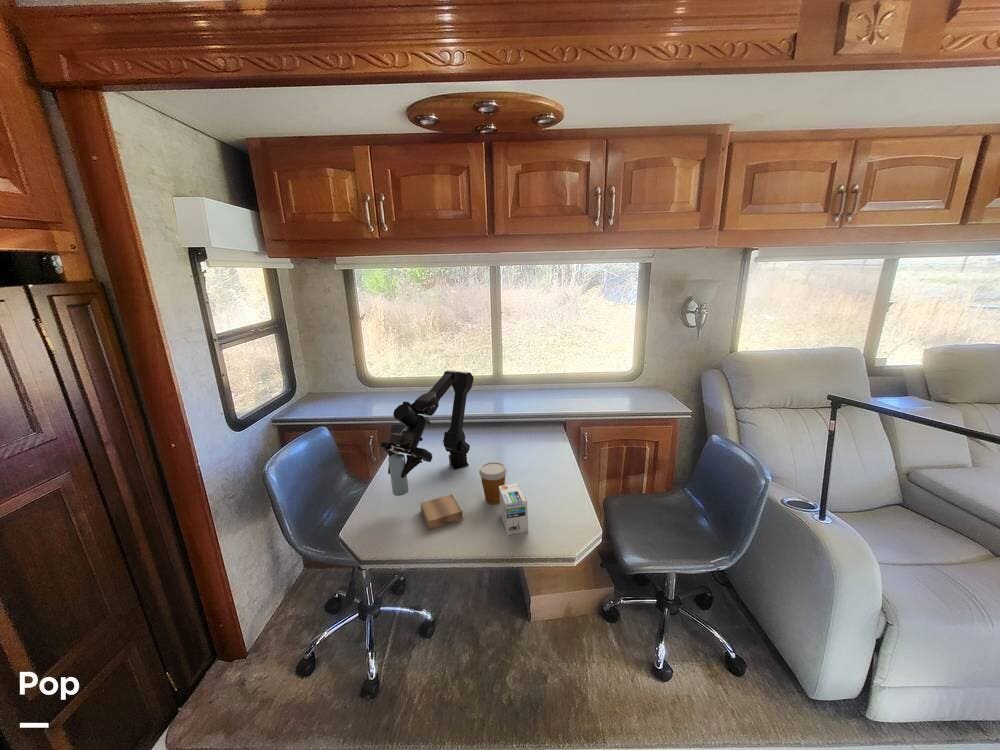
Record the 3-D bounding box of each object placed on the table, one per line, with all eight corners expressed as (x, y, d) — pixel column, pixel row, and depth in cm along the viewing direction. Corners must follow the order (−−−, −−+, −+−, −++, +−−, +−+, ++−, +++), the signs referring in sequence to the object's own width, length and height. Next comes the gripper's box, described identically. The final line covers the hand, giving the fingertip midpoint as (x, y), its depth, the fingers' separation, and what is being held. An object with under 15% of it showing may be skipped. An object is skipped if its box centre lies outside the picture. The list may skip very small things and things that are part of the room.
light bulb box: (528, 532, 112) (527, 500, 109) (507, 536, 111) (505, 504, 108) (519, 511, 122) (518, 482, 120) (499, 515, 121) (498, 485, 118)
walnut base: (452, 501, 129) (451, 494, 129) (463, 519, 120) (462, 511, 119) (421, 510, 125) (420, 502, 124) (429, 529, 115) (428, 521, 115)
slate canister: (407, 485, 128) (403, 452, 125) (410, 493, 123) (406, 458, 120) (391, 489, 126) (387, 456, 123) (394, 497, 121) (389, 462, 118)
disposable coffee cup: (477, 495, 132) (474, 465, 129) (501, 488, 136) (500, 459, 133) (486, 510, 124) (484, 477, 121) (512, 502, 127) (511, 470, 124)
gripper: (380, 418, 126) (359, 462, 120) (423, 426, 118) (403, 474, 111) (398, 431, 135) (380, 472, 129) (440, 439, 126) (422, 484, 120)
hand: (395, 475), depth 122 cm, fingers closed on slate canister, 5 cm apart
